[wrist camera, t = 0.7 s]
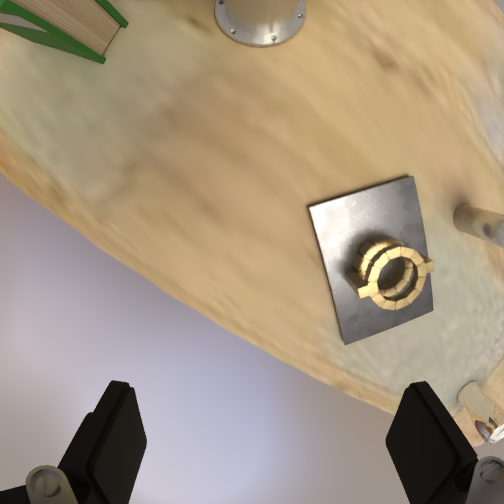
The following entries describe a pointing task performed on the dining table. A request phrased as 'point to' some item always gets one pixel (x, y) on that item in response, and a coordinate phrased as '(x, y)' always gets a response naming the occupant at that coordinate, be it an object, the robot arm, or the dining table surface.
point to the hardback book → (64, 24)
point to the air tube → (480, 223)
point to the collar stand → (375, 257)
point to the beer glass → (483, 412)
